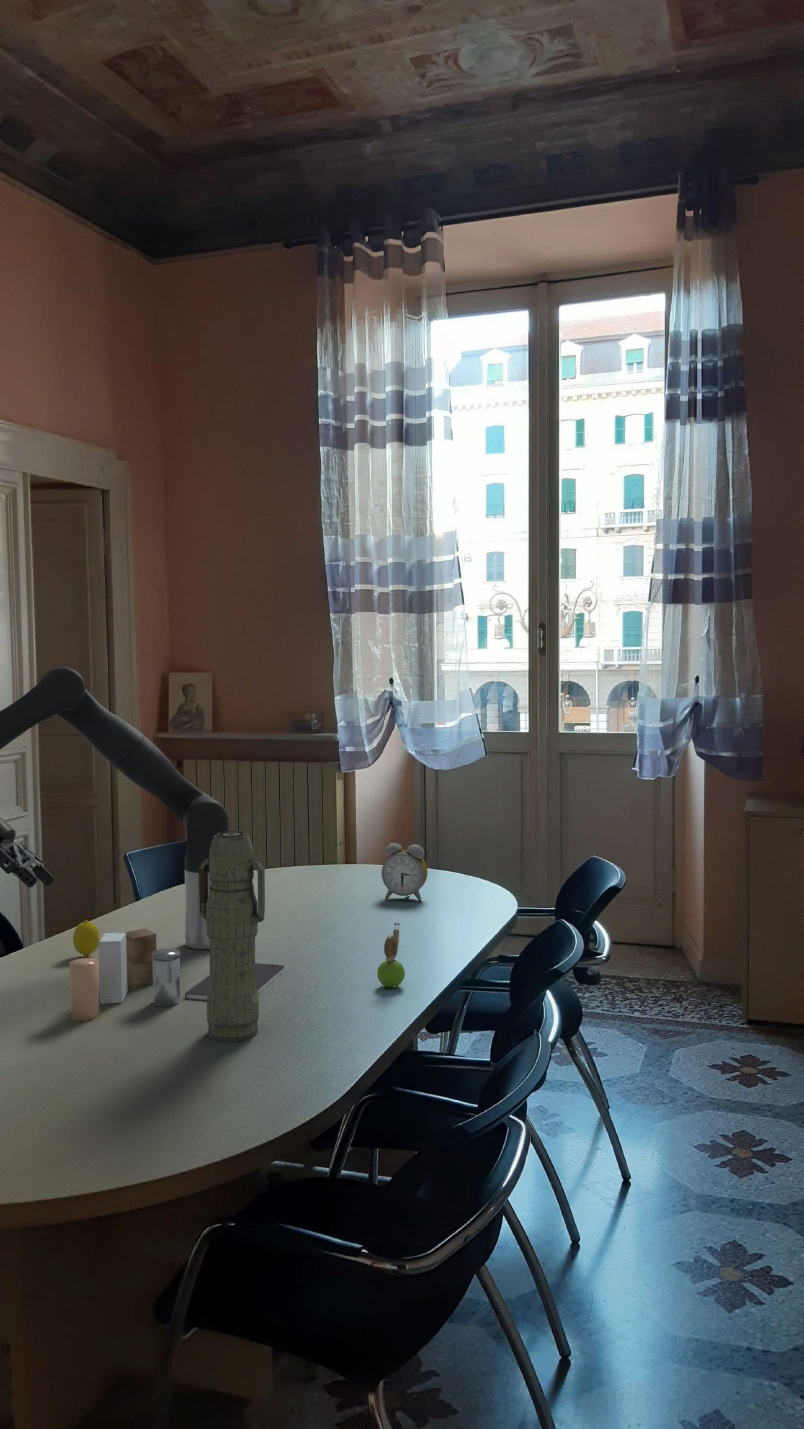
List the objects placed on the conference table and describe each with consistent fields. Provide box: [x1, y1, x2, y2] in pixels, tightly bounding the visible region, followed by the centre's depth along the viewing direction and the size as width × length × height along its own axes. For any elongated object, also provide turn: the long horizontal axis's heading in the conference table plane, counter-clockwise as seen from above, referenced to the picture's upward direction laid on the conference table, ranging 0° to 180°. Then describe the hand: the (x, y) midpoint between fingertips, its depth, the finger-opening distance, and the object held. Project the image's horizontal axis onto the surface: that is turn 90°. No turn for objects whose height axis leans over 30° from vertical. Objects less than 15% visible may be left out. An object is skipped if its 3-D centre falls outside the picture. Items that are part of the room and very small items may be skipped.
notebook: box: [184, 962, 285, 1001], centre depth 211 cm, size 13×2×21 cm
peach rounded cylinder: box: [69, 957, 100, 1022], centre depth 192 cm, size 5×5×10 cm
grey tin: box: [152, 948, 181, 1008], centre depth 199 cm, size 5×5×10 cm
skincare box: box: [98, 932, 128, 1005], centre depth 201 cm, size 6×4×12 cm
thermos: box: [198, 830, 266, 1043], centre depth 183 cm, size 9×12×35 cm
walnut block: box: [123, 928, 158, 989], centre depth 211 cm, size 5×5×10 cm
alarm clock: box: [381, 842, 428, 901], centre depth 281 cm, size 12×7×15 cm, turn 73°
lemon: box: [72, 920, 101, 958], centre depth 229 cm, size 6×6×8 cm
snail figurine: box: [376, 922, 406, 988], centre depth 209 cm, size 5×6×12 cm
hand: (43, 883), depth 209 cm, fingers open, 8 cm apart
